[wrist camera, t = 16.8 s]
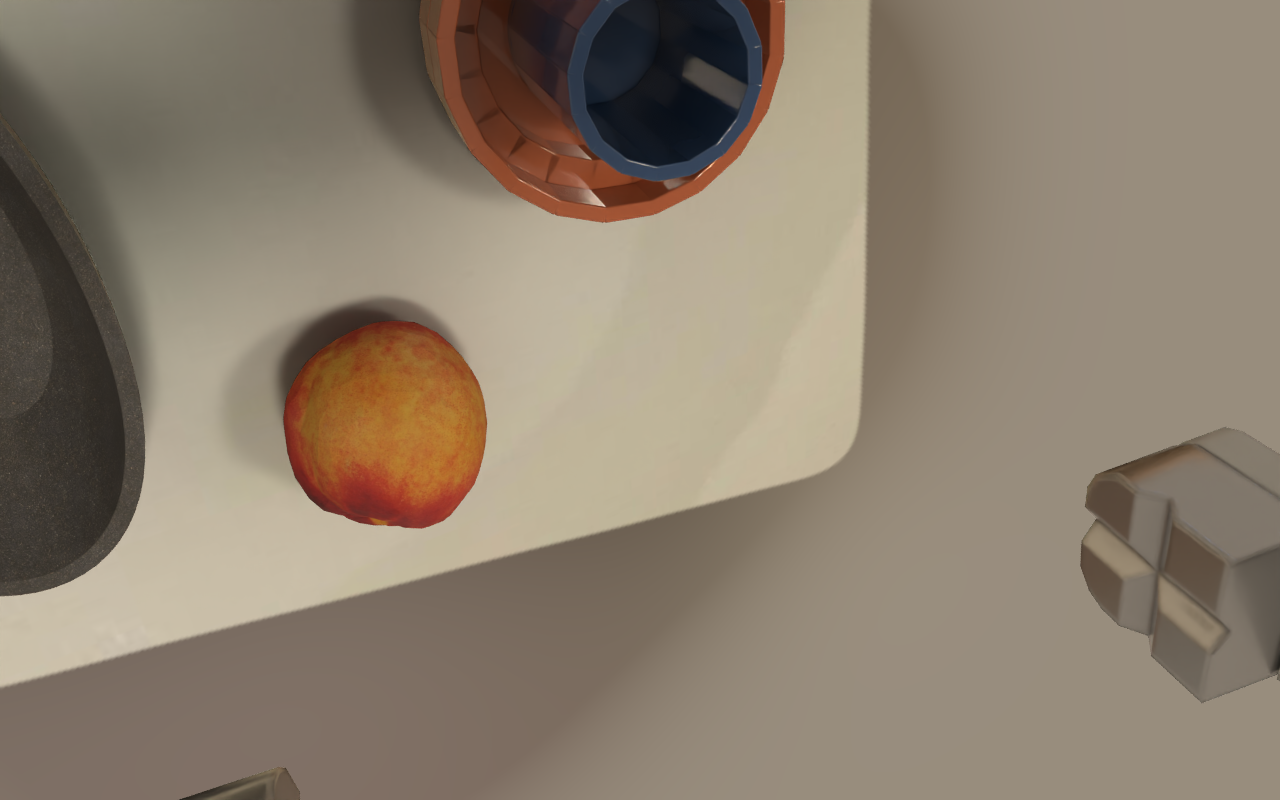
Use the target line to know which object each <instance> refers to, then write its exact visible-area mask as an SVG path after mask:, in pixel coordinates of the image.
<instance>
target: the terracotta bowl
mask: <svg viewBox="0 0 1280 800" xmlns="http://www.w3.org/2000/svg"><path fill="white" fill-rule="evenodd" d="M511 1H512V0H421V4H420V11H419V17H420V18H419V23H420V29H421V36H422V43H423V49H424V56H425V62H426V69H427V72H428V76H429V78H430V80H431V82H432V84H433V86H434V88H435V90H436V92H437V94H438V96H439V98H440V100H441V102H442V104H443V106H444V108H445V110H446V113H447V115H448V117H449V119H450V120H451V122H452V124H453V125H454V127H455V128H456V130H457V131H458V133H459V135H460V136H461V138H462V139H463V141H464V143H465V144H466V146H467V147H468V149H469V150H470V152H471V153H472V154H473V155H474V156H475V157H476V158H477V160H478V161H479V162H480V163H481V164H482V165H483V166H484V167H485V168H486V169H487V170H488V171H489V172H490V173H491V174H492V175H493V176H494V177H495V178H496V179H497V180H498V181H499V182H500V183H501V184H502V185H503V186H504V187H505V188H506V190H508V191H509V192H511V193H513V194H515V195H517V196H518V197H520V198H522V199H524V200H526V201H528V202H530V203H532V204H534V205H536V206H538V207H540V208H542V209H544V210H545V211H547V212H549V213H551V214H555V215H557V216H563V217H570V218H576V219H582V220H589V221H595V222H602V223H603V222H606V223H607V222H613V221H619V220H626V219H632V218H638V217H644V216H650V215H654V214H657V213H659V212H661V211H663V210H665V209H667V208H669V207H671V206H673V205H675V204H677V203H679V202H681V201H683V200H685V199H687V198H689V197H691V196H693V195H695V194H697V193H699V192H700V191H702V190H703V189H704V188H705V187H706V186H708V185H709V184H710V183H711V182H712V181H713V180H714V179H715V178H716V177H717V176H718V175H720V174H721V173H722V172H723V171H724V170H725V169H726V168H727V167H728V166H729V165H730V164H731V163H733V162H734V161H735V160H736V159H737V158H738V156H740V155H741V153H742V152H743V150H744V148H745V147H746V145H747V143H748V142H749V140H750V139H751V137H752V135H753V134H754V132H755V131H756V129H757V127H758V126H759V124H760V123H761V121H762V119H763V118H764V116H765V115H766V113H767V111H768V109H769V106H770V102H771V99H772V96H773V92H774V89H775V86H776V82H777V79H778V76H779V72H780V69H781V66H782V62H783V59H784V57H783V56H784V32H785V0H741V1H742V2H743V3H744V4H745V5H746V7H747V8H748V11H749V13H750V16H751V18H752V21H753V23H754V25H755V28H756V30H757V33H758V35H759V38H760V40H761V45H762V88H761V91H760V94H759V97H758V100H757V103H756V106H755V109H754V112H753V114H752V117H751V120H750V123H748V126H747V127H746V128H745V130H744V131H743V132H742V133H741V135H740V136H739V137H738V138H737V140H736V141H735V142H734V144H733V145H732V146H731V147H730V149H729V150H728V151H727V152H726V154H724V155H723V156H722V157H720V158H719V159H717V160H716V161H714V162H712V163H711V164H709V165H707V166H706V167H704V168H703V169H701V170H699V171H698V172H696V173H695V174H691V175H690V176H685V177H679V178H674V179H668V180H663V181H650V180H645V179H641V178H637V177H633V176H628V175H624V174H621V173H619V172H617V171H616V170H615V169H613V168H612V167H611V166H609V165H608V164H607V163H605V162H604V161H603V160H602V159H600V158H599V157H598V156H596V155H595V154H594V153H592V152H591V151H590V150H589V149H588V148H587V147H586V146H585V145H584V144H583V143H582V142H581V141H580V140H579V139H578V138H577V137H576V136H575V135H574V134H573V133H572V132H571V131H570V130H569V129H568V128H567V127H566V126H565V125H564V124H563V123H562V122H561V121H560V120H559V119H558V118H557V117H556V116H555V115H554V114H553V113H552V112H551V111H550V110H549V109H548V108H547V107H546V106H545V105H544V104H543V103H542V102H541V101H540V100H539V99H538V98H537V97H536V96H535V95H534V94H533V93H532V91H531V90H530V89H529V87H528V86H527V84H526V83H525V82H524V80H523V79H522V77H521V76H520V74H519V72H518V70H517V68H516V66H515V64H514V61H513V58H512V55H511V52H510V48H509V43H508V32H507V26H508V14H509V8H510V4H511Z"/></svg>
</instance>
